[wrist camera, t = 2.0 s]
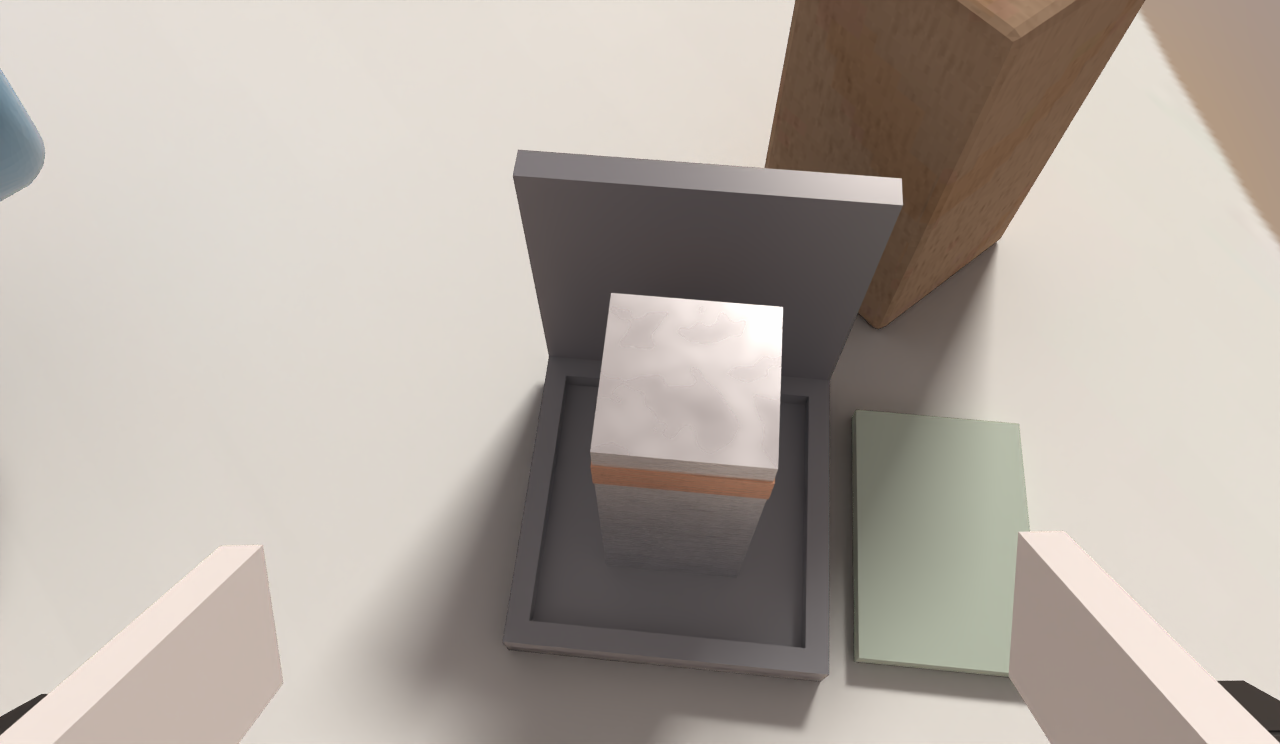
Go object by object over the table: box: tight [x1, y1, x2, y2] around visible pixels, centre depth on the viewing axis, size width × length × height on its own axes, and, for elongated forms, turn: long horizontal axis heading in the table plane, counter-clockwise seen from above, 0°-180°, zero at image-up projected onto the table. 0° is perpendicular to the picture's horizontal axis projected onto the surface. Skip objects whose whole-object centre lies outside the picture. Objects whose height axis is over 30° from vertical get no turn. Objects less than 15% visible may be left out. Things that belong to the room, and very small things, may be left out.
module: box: [590, 293, 783, 578], centre depth 36 cm, size 6×6×14 cm
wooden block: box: [765, 0, 1145, 329], centre depth 42 cm, size 10×10×20 cm
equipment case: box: [503, 150, 903, 681], centre depth 36 cm, size 14×15×16 cm
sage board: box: [852, 410, 1030, 677], centre depth 42 cm, size 8×12×1 cm, turn 174°
